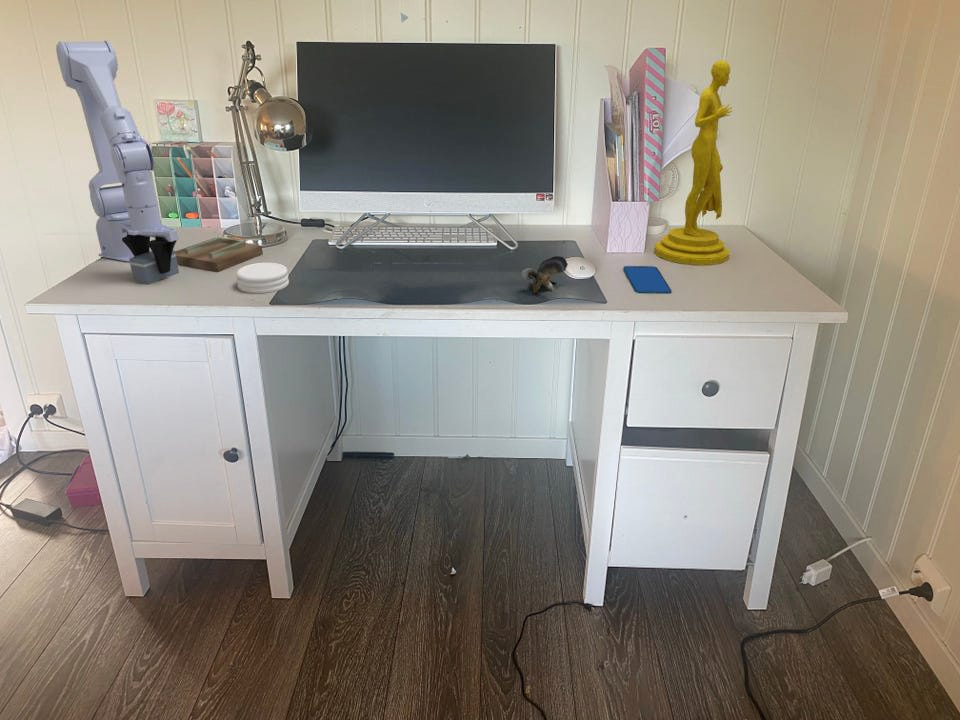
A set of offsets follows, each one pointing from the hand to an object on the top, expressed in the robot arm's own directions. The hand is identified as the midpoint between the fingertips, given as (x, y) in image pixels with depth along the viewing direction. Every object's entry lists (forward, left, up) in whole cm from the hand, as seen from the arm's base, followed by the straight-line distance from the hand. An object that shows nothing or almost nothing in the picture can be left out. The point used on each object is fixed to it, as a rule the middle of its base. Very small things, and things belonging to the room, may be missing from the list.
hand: (155, 270), depth 145 cm
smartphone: (+92, +43, -2) cm, 102 cm away
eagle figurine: (+75, +29, -2) cm, 80 cm away
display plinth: (+2, +15, -1) cm, 15 cm away
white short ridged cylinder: (+23, +6, -2) cm, 24 cm away
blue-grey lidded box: (0, 0, -2) cm, 2 cm away
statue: (+97, +66, -2) cm, 117 cm away
